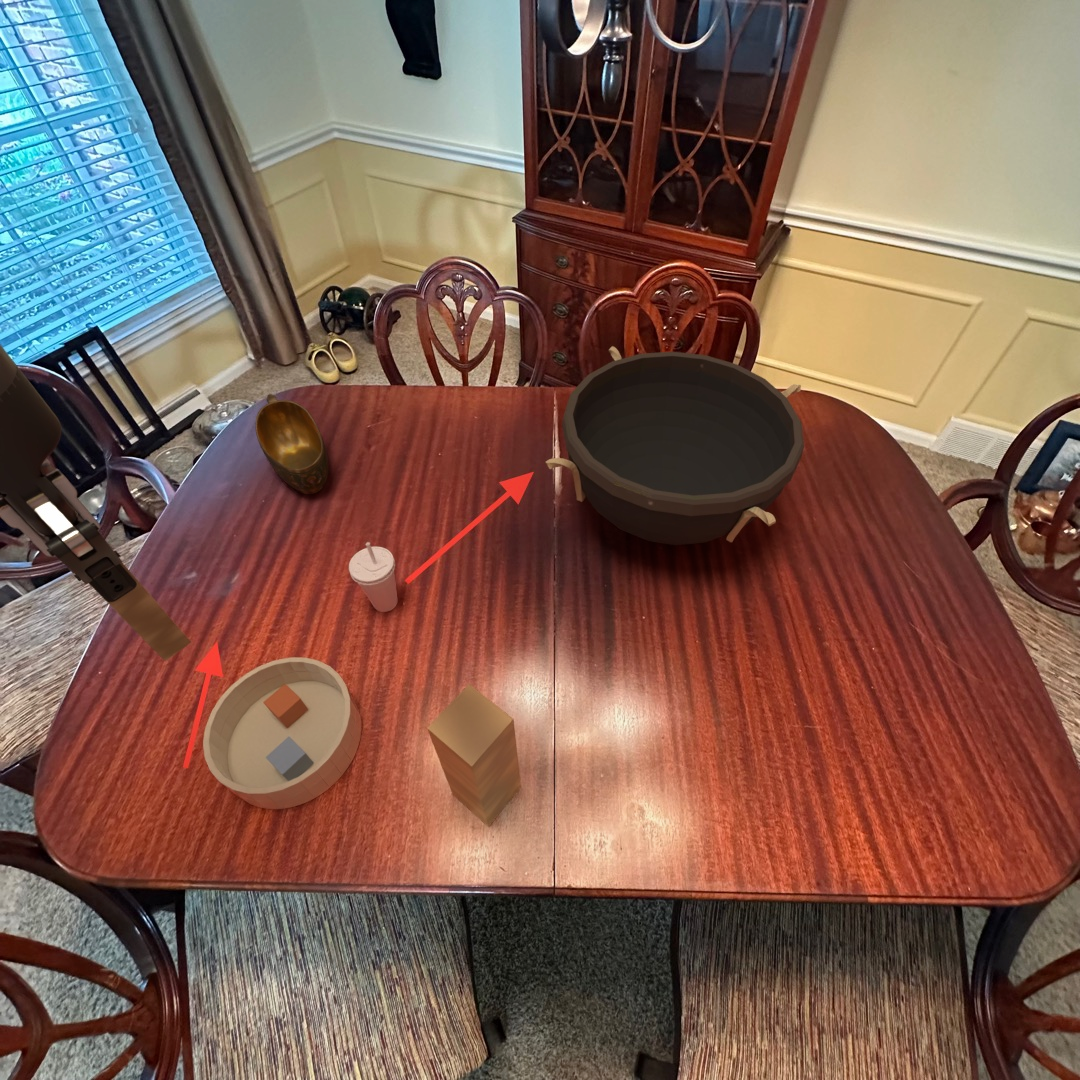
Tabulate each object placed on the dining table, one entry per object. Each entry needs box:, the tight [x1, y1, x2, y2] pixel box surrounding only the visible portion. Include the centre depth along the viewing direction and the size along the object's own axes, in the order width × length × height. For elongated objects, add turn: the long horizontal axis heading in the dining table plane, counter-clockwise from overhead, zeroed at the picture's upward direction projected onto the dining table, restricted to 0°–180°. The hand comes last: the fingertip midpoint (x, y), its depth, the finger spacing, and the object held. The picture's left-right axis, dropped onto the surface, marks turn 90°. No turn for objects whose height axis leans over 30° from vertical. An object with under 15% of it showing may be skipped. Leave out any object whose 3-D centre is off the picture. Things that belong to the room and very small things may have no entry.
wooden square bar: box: [100, 561, 192, 662], centre depth 46 cm, size 2×2×14 cm
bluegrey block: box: [266, 736, 314, 781], centre depth 74 cm, size 3×3×3 cm
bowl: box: [545, 345, 805, 546], centre depth 96 cm, size 35×35×20 cm
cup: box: [254, 393, 329, 495], centre depth 108 cm, size 13×20×10 cm, turn 4°
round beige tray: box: [202, 656, 362, 810], centre depth 76 cm, size 17×17×6 cm
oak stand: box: [426, 683, 522, 828], centre depth 66 cm, size 6×6×20 cm
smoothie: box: [348, 541, 399, 613], centre depth 87 cm, size 6×6×14 cm
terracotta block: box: [263, 684, 308, 728], centre depth 79 cm, size 3×3×3 cm
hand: (112, 581), depth 45 cm, fingers closed on wooden square bar, 2 cm apart
